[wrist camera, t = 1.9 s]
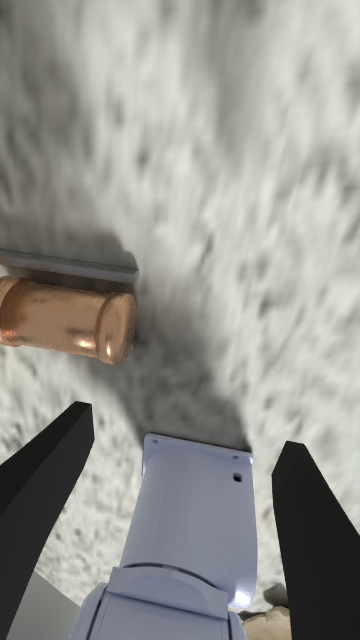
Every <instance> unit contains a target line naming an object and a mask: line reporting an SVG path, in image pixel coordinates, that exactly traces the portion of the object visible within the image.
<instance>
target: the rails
mask: <svg viewBox="0 0 360 640" xmlns="http://www.w3.org/2000/svg"><path fill="white" fill-rule="evenodd" d="M0 264H2V265H9V266H16V267H22V268H29V269H36V270H42V271H49V272H56V273H62V274H69V275H76V276H83V277H89V278H96V279H103V280H109V281H116V282H123V283H129V284H134V283H135V282H136V281H137V279H138V273H139V269H132V268H125V267H119V266H112V265H105V264H98V263H91V262H84V261H77V260H70V259H63V258H56V257H50V256H43V255H36V254H29V253H22V252H15V251H8V250H1V249H0ZM136 344H137V336H134V339H133V343H132V346H131V349H130V350H131V351H133V350H134V348H135V346H136Z"/></svg>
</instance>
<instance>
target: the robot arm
mask: <svg viewBox="0 0 360 640" xmlns="http://www.w3.org/2000/svg"><path fill="white" fill-rule="evenodd" d="M94 440H95V437H94V426H93V415H92V404H90V403H84V402H79V401H75V402H74V403H73V404H71V405H70V406H69V407H68V408H67V409H66V410H65V411H64V412H63V413H62V414H61V415H59V416H58V417H57V418H56V419H55V420H54V421H53V422H52V423H50V424H49V425H48V426H47V427H46V428H45V429H44V430H43V431H41V432H40V433H39V434H38V435H37V436H35V437H34V438H33V439H32V440H31V441H30V442H28V443H27V444H26V445H25V446H24V447H22V448H21V449H20V450H19V451H18V452H16V453H15V454H14V455H13V456H11V457H10V458H9V459H7V460H6V461H5V462H4V463H2V464H1V465H0V640H6V638H7V635H8V633H9V630H10V627H11V624H12V622H13V619H14V617H15V615H16V612H17V610H18V607H19V604H20V602H21V600H22V597H23V595H24V592H25V590H26V587H27V585H28V582H29V580H30V577H31V575H32V573H33V571H34V568H35V566H36V563H37V561H38V559H39V556H40V554H41V552H42V549H43V547H44V545H45V543H46V541H47V538H48V536H49V534H50V532H51V530H52V528H53V526H54V524H55V522H56V521H57V519H58V517H59V515H60V513H61V511H62V509H63V507H64V505H65V503H66V501H67V499H68V497H69V495H70V494H71V492H72V490H73V488H74V486H75V484H76V482H77V480H78V478H79V476H80V474H81V472H82V470H83V468H84V466H85V463H86V461H87V458H88V456H89V453H90V451H91V448H92V445H93V443H94ZM252 462H253V455H252V454H251V453H248V452H243V451H238V450H233V449H228V448H223V447H218V446H212V445H207V444H202V443H197V442H192V441H187V440H182V439H177V438H171V437H166V436H161V435H156V434H151V433H149V434H146V435H145V438H144V455H143V476H142V485H141V488H140V492H139V496H138V499H137V503H136V507H135V510H134V514H133V518H132V521H131V525H130V529H129V532H128V536H127V540H126V543H125V547H124V551H123V554H122V558H121V562H120V565H119V567H113V569H112V573H111V576H110V580H109V583H105V582H101V583H99V584H98V585H97V586H96V587H95V589H94V590H92V591H91V592H90V593H89V594H88V595H87V597H86V598H85V600H84V602H83V604H82V606H81V608H80V610H79V612H78V615H77V617H76V620H75V622H74V625H73V628H72V631H71V633H70V636H69V639H68V640H248V638H247V634H246V631H245V629H244V627H243V625H242V624H241V622H240V620H239V617H238V615H237V614H236V613H235V612H231V611H228V607H237V608H244V609H246V608H249V607H250V606H251V604H252V601H253V597H254V593H255V587H256V579H257V531H256V518H255V504H254V491H253V478H252ZM272 495H273V508H274V515H275V521H276V527H277V533H278V539H279V546H280V552H281V558H282V564H283V570H284V576H285V582H286V589H287V596H288V604H289V615H290V626H291V638H292V640H360V535H359V534H358V532H357V531H356V529H355V528H354V526H353V524H352V523H351V521H350V520H349V518H348V517H347V515H346V513H345V512H344V510H343V509H342V507H341V505H340V504H339V502H338V501H337V499H336V497H335V496H334V494H333V493H332V491H331V489H330V488H329V486H328V484H327V482H326V481H325V479H324V477H323V476H322V474H321V472H320V470H319V469H318V467H317V465H316V463H315V462H314V460H313V458H312V456H311V455H310V453H309V451H308V449H307V448H306V446H305V445H304V444H302V443H297V442H291V441H286V443H285V445H284V447H283V449H282V452H281V454H280V456H279V459H278V461H277V463H276V466H275V468H274V470H273V473H272Z"/></svg>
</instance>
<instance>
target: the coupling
mask: <svg viewBox="0 0 360 640" xmlns="http://www.w3.org/2000/svg"><path fill="white" fill-rule="evenodd" d="M136 320H137V307H136V302H135V298H134V296H133V295H132V294H127V293H121V292H112V293H110V294H106V293H99V292H93V291H86V290H80V289H73V288H67V287H60V286H54V285H47V284H41V283H35V282H34V281H33V280H31V279H28V278H23V277H16V276H4V277H1V278H0V344H1V345H6V346H12V347H18V346H21V345H25V346H31V347H37V348H43V349H48V350H54V351H60V352H65V353H71V354H77V355H83V356H88V357H94V358H98V359H99V360H100V362H103V363H109V364H114V365H121V364H122V363H123V362H124V361H125V359H126V358H127V356H128V354H129V352H130V349H131V346H132V343H133V339H134V334H135V329H136Z"/></svg>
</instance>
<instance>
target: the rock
mask: <svg viewBox="0 0 360 640" xmlns="http://www.w3.org/2000/svg"><path fill="white" fill-rule="evenodd" d="M242 625H243V627H244V629H245V631H246V634H247V638H248V640H292V638H291V626H290V615H289V609H287V608H285V607H282V606H276V607H273V608H272V609H270V610H268V611H266V613H262V614H259V615H255V616H252V617H251V618H249V619H247V620H245V621H244V622H243V623H242Z"/></svg>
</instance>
